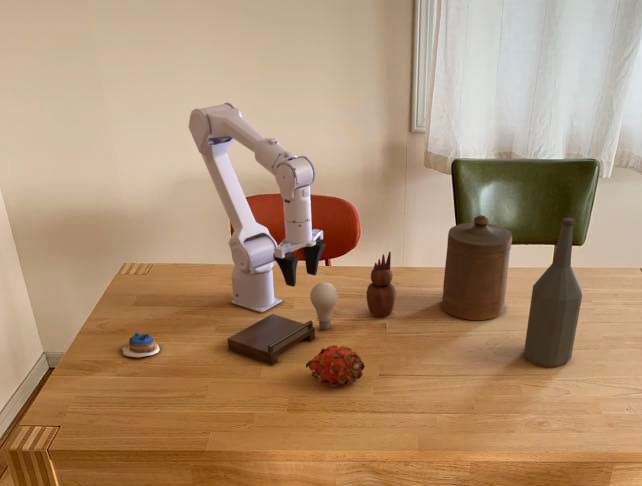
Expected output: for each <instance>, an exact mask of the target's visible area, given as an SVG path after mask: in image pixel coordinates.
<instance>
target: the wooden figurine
mask: <svg viewBox="0 0 642 486" xmlns="http://www.w3.org/2000/svg"><path fill="white" fill-rule="evenodd" d="M385 257H386V256H385V254H384V253H382V257H381V259H380V258H378V260H377V262H374V266H373V269H372V270H371V272H370V280H371V283H370V284H369V285H368V286H367V289H366V304H367V308H368V310H369V312H370V314H371V315H373V316H374V317H378V318H379V317H380V318H385V317H389V316H390V315H392V313H393V311H394V308H395V304H396V298H397V290H396V289H397V288H396V287H395V285H394V284H393V283H392V281H393V271H392V270H391V261H392V258H391V257H392V252H391V251H389V252H388V255H387V257H386V259H385Z"/></svg>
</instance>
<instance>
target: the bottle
mask: <svg viewBox="0 0 642 486" xmlns="http://www.w3.org/2000/svg"><path fill="white" fill-rule="evenodd" d="M575 223H576V221H575V219H574V218H571V217H564V218H563V219H562V220H561V229H560V232H559V236H558V239H557V244H556V248H555V251H554V255H553V260H552V263H551V264H550V265H549V267H548V268H546V270H545V271H544V273H543V274H541V276H539V278H538V279H537V281H535V283H534V284H533V285H532V290H531V299H530V306H529V313H528V319H527V328H526V334H525V342H524V356H525V358H526V359H527V360H528V361H529V362H531V363H532V364H534V365H535V366H540V367H543V368H558V367H561V366H564V365H566V364H568V362H569V361H570V360H571V359H572V355H573V350H574V343H575V340H576V339H575V338H576V333H577V327H578V322H579V316H580V310H581V305H582V299H583V292H582V288H581V285H580V283H579V280H578V279H577V277H576V274H575V272H574V270H573V268H572V251H573V235H574V234H573V233H574V225H575Z"/></svg>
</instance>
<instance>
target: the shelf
mask: <svg viewBox="0 0 642 486" xmlns="http://www.w3.org/2000/svg"><path fill="white" fill-rule="evenodd" d="M314 340H316V327H315V326H314V322H313V320H309V321H307V322H306V323H303V322H299V321H296V320H293V319H290V318H287V317H284V316H280V315H278V314H275V313H271V314H269V315H267V316H266V317H264V318H261V320H259V321H256V322H255V323H253V324H251V325H249V326H248V327H246V328H244V329H242V330H240V331H238V332H237V333H235V334H233V335H231V336H230V337H227V347H228V351H230V352H233V353H236V354H238V355H241V356H244V357H247V358H249V359H253V360H255V361H258V362H260V363H264V364H266V365H269V366H274V365H275V364H277V363H278V355H280V354H282V353H284V352H285V351H287V350H288V349H290V348H292V347H293V346H295V345H296V344H298V343H300V342H301V341H307V342H312V341H314Z"/></svg>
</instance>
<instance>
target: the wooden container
mask: <svg viewBox="0 0 642 486" xmlns="http://www.w3.org/2000/svg"><path fill="white" fill-rule="evenodd" d="M512 242H513V234H512V232H511V231H510V230H509V229H507V228H505V227H503V226H501V225H496V224H492V223H490V219H489V218H488V217H487V216H486V215H481V214H480V215H477V216H476V217H475V216H474V218H473V222H465V223H459V224H456V225H454V226H452V227H450V228H449V230H448V234H447V246H446V247H447V248H446V256H445V264H444V266H445V267H444V275H443V285H442V286H443V288H442V302H441V303H442V304H441V306H442V308H443V310H444V311H445V312H446V313H448V314H449V315H451V316H453V317H456V318H458V319H463V320H467V321H468V320H469V321H486V320H491V319H494V318H497V317H499V316H500V315H502V313H503V312H504V309H505V302H506V294H507V287H508V286H507V285H508V275H509V265H510V255H511V254H510V253H511V249H512Z"/></svg>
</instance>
